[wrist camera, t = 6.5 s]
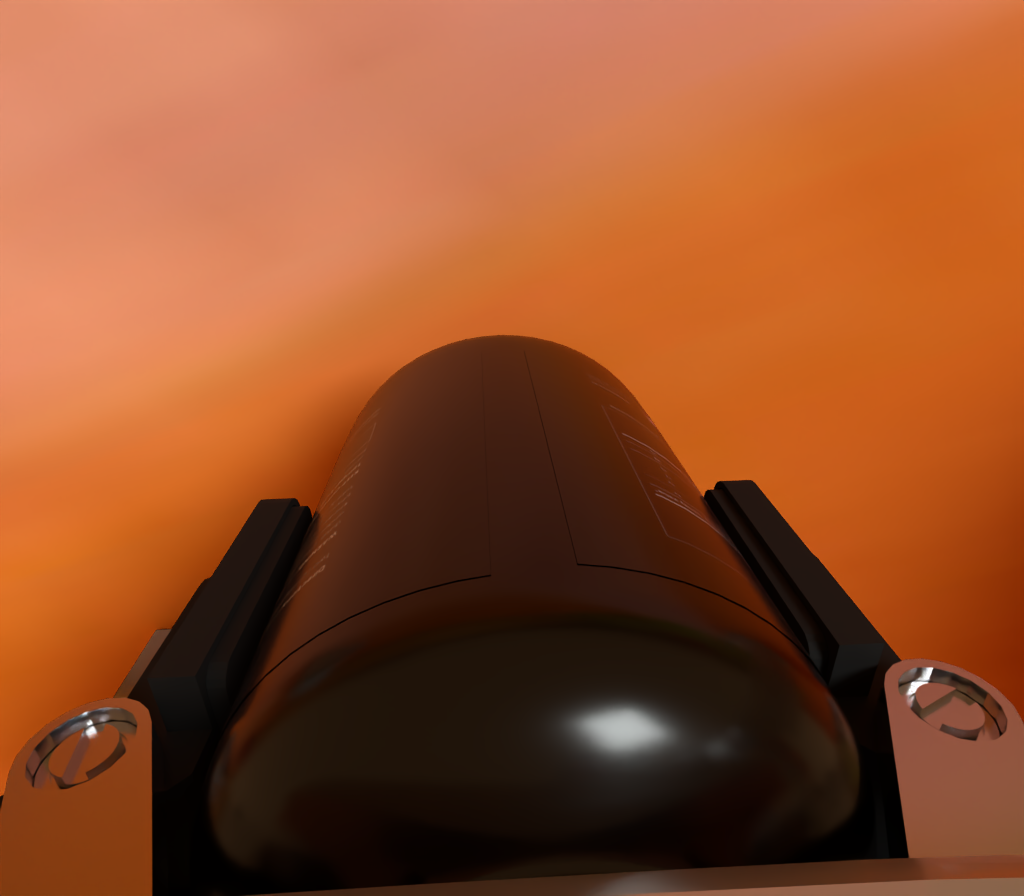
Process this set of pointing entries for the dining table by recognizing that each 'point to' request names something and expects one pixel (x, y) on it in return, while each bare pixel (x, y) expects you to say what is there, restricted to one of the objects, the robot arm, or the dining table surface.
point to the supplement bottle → (521, 659)
